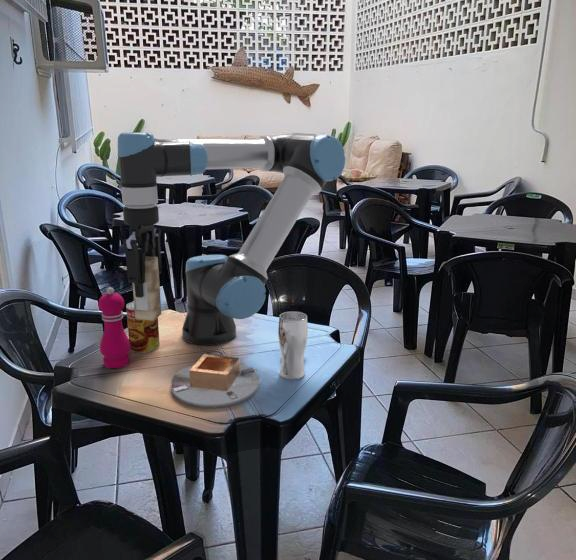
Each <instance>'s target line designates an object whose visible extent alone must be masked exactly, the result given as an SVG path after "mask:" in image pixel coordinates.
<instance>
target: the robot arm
mask: <svg viewBox="0 0 576 560" xmlns="http://www.w3.org/2000/svg"><path fill="white" fill-rule="evenodd" d="M117 157H118V159H117V160H118V167H119V176H120V177H119V178H120V186H121V190H120V194H121V199H122V205H123V206H124V207H123V208H122V215H123V223H124V224H125V225H127V226H128V227H129V234H128V235H129V237H128V238H127V239H126V238H124V239H123V240H122V244H123V245H122V246H123V248H124V253H125V262H126V263H125V265H126V274H127V275H126V276H127V282H128V283H129V284H130V283H134V285H135V298H136V310H146V311H148V310H149V304H148V290H147V282H145V256H147V257H158V269H159V276H161V275H162V269H163V267H162V264H163V263H162V253H161V252H162V251H161V232H162V231H161V228H156V227H155V225H156V224H158V223H159V221H160V217H159V216H160V215H159V214H160V213H159V207H158V205H157V204H158V203H159V197H158V196H159V195H158V186H157V185H158V183H157V178H159V177H160V178H162V177H178V176H190V177H192V176H195V175H201V174H203V173H204V172H205V171H206V170H232V169H235V170H237V169H259V170H260V171H262V172H275V173H280V174H283V175H284V176H283V177H284V178H283V179H282V181H281V182H280V184H279V185H278V187H277V189H276V191H275V192H274V194H273V195H272V197H271V199H270V201H268V204H267V205H266V207H265V209H264V211H263V212H262V214H261V215H260V217H259V218H258V220H257V222H256V223H255V225H254V226H253V228H252V230H251V231H250V232H249V235H248V236H247V238H246V240H244V243H243V244H242V246H241V247H240V249H239V251H238V252H237V253H233V254H231V255H229V256H227V255H225V254H205V255H197V256H193V257H190V258H188V259H187V261H186V263H185V270H184V271H185V282H186V283H185V284H186V300H187V301H186V302H187V303H186V304H187V312H186V315H185V319H184V322H183V326H182V328H181V329H182V338H183V341H186V342H188V343H191V344H194V345H199V346H213V345H220V344H224V343H227V342H229V341H231V340H233V339H234V338H235V337H236V336H237V325H236V323H235V320H234V319H236V320H245V319H247V318H251V317H252V316H255V314H257V313H258V312H259V311H260V310H261V308H262V307H263V306H264V303H265V302H266V301H265V300H266V296H267V295H266V292H267V291H266V287H265V285H266V284H267V281H268V279H269V278H268V277H269V276H268V274H267V270H268V268H269V266H270V265H271V264H272V262H273V260H274V259H275V256H276V255H277V254H278V252H279V251H280V248H281V247H282V245H283V244H284V242H285V240H286V238H287V237H288V235H289V234H290V232H291V231H292V228H293V227H294V225H295V224H296V222H297V220H298V219H299V217H300V215H301V214H302V212H303V210H304V209H305V207H306V205H307V204H308V202H309V200H310V199H311V197H312V196H313V195H314V194H319V193H321V191H322V190H323V189H324V186H325V185H326V183H327V182H332V181H335V180H337V179H338V178H339V177H340V176H341V175H342V173H344V169H345V166H346V157H345V149H344V147H343V145H342V143H341V142H340V140H339V139H338V138H337V137H335V136H334V135H331V134H325V133H321V132H320V133H304V132H303V133H302V132H295V133H285V134H278V135H277V134H276V135H263V136H260V137H259V138H258V139H208V138H207V139H203V138H202V139H201V138H200V139H197V138H196V139H186V138H184V139H182V138H181V139H178V138H176V139H173V138H172V139H168V138H165V139H164V138H162V139H159V138H154V134H153V133H152V132H121V133H120V134H119V135H118V136H117Z"/></svg>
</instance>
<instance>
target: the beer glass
mask: <svg viewBox="0 0 576 560" xmlns="http://www.w3.org/2000/svg"><path fill="white" fill-rule="evenodd" d="M278 318H279V319H278V320H279V321H278V333H277V335H278V338H277V339H278V345H279V351H280V356H281V358H280V359H281V364H280V369H279V375H280V377H282V378H283V379H284V380H285V379H286V380H289V381H290V380H292V381H293V380H294V381H295V380H299V379H301V378H303V377H305V375H306V374H305V373H306V371H305V366H304V365H305V364H304V359H305V352H306V347H307V343H308V334H309V333H308V331H309V330H308V327H309V326H308V325H309V324H308V315H307V314H306V313H304V312H301V311H285V312H282V313H280V314H279V316H278Z"/></svg>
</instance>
